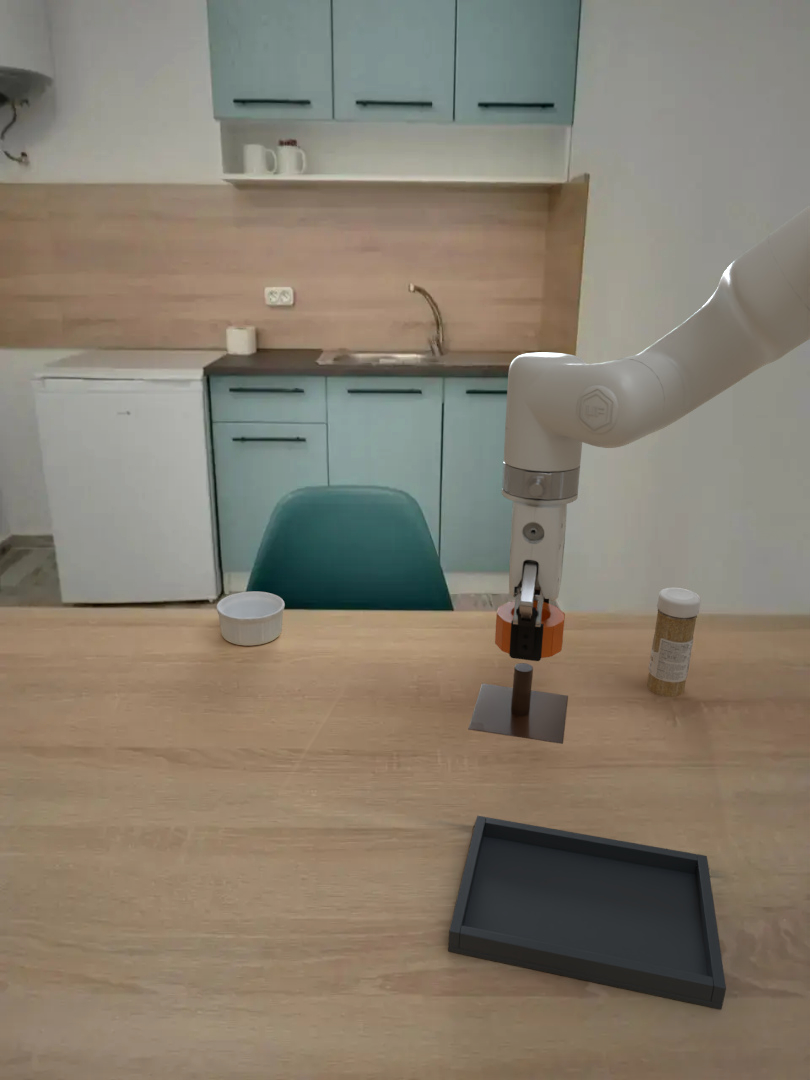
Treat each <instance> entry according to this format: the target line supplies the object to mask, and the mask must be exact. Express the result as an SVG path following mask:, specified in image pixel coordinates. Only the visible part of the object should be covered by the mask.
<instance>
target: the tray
mask: <svg viewBox="0 0 810 1080" xmlns="http://www.w3.org/2000/svg"><path fill="white" fill-rule="evenodd" d="M465 860H466V861H465V864H464V869H463V873H462V877H461V881H460V885H459V889H458V894H457V897H456V902H455V906H454V909H453V914H452V918H451V922H450V926H449V929H448V930H449V931H448V945H447V946H448V947H447V951H448V952H449V953H454V954H460V955H464V956H468V957H473V958H478V959H482V960H487V961H492V962H497V963H502V964H506V965H511V966H516V967H520V968H525V969H529V970H533V971H539V972H544V973H547V974H548V973H549V974H552V975H558V976H561V977H566V978H567V977H568V978H572V979H577V980H581V981H585V982H591V983H596V984H601V985H604V986H608V987H614V988H619V989H624V990H629V991H632V992H638V993H643V994H648V995H652V996H656V997H657V996H658V997H661V998H666V999H670V1000H676V1001H679V1002H684V1003H689V1004H694V1005H699V1006H704V1007H709V1008H712V1009H717V1010H722V1009H723V1005H724V1001H725V995H726V991H727V986H726V985H727V984H726V979H725V971H724V964H723V957H722V951H721V944H720V936H719V930H718V923H717V916H716V909H715V902H714V895H713V889H712V882H711V875H710V868H709V861H708V856H707V855H704V854H699V853H693V852H687V851H681V850H675V849H670V848H664V847H658V846H653V845H647V844H642V843H635V842H629V841H625V840H618V839H613V838H607V837H602V836H598V835H597V836H596V835H591V834H585V833H579V832H574V831H568V830H562V829H558V828H557V829H556V828H551V827H546V826H545V827H544V826H539V825H533V824H529V823H528V824H527V823H524V822H517V821H511V820H505V819H499V818H494V817H488V816H484V815H483V816H482V815H477V816H476V819H475V823H474V828H473V831H472V836H471V840H470V844H469V848H468V853H467V856H466V859H465Z"/></svg>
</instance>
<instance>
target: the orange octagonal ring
mask: <svg viewBox="0 0 810 1080" xmlns="http://www.w3.org/2000/svg"><path fill="white" fill-rule="evenodd" d="M537 603H538V602H536V601H534V605H533V607H536V611H537ZM514 607H515V600H512V601H508V602H505V603H503V604H501V605H499V606H498V608H497V611H496V615H495V616H496V617H495V635H494V644H495V645H496V646H497V647H498V649H500V651H502V652H503V653H506V654H508V655H509V653H510V637H511V622H512V620H513V617H514ZM565 617H566V614H565V612H564V611H563V610H561V608H559V607H558V606H556V605H554V604H551V603H549V604H548V603H545V602H543V610H542V620H541V624H544V628H543V641H542V654H541V659H546V658H551V657H553V656H555V655H556V654H558V653H561V651H562V650H563V649H562V648H563V642H564V629H565V628H564V627H565Z"/></svg>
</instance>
